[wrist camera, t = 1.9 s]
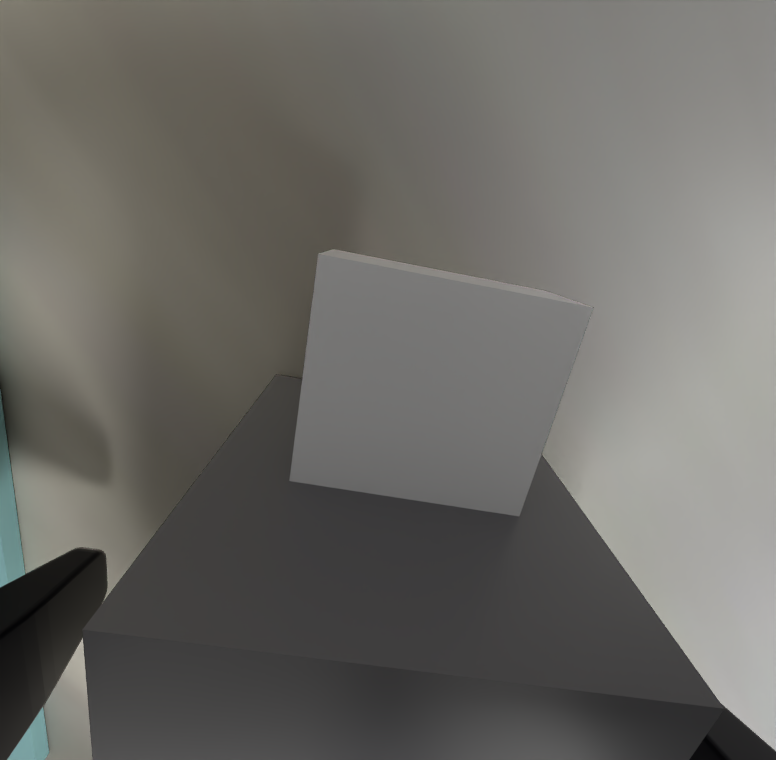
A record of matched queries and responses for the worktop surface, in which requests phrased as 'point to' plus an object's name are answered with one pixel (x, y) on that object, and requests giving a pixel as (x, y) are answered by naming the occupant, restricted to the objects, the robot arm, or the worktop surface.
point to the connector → (393, 559)
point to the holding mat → (4, 565)
